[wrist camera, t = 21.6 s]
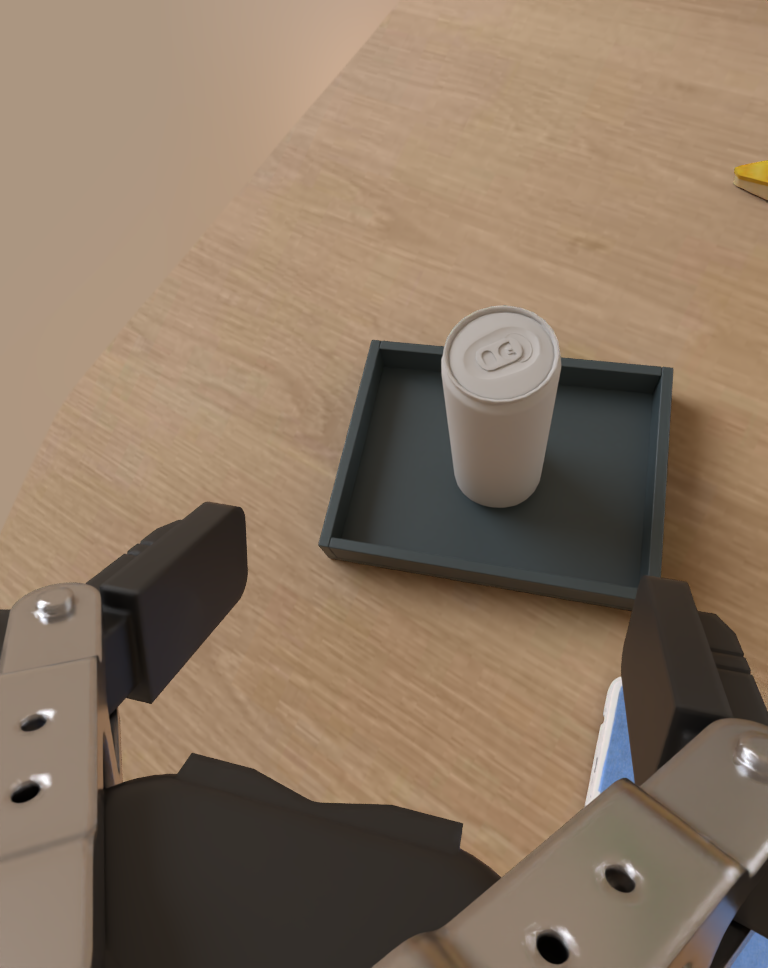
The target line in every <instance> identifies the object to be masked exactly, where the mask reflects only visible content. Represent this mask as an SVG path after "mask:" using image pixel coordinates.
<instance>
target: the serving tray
mask: <svg viewBox="0 0 768 968" xmlns="http://www.w3.org/2000/svg"><path fill="white" fill-rule="evenodd" d="M443 350H444V347H443V346H432V345H422V344H411V343H400V342H389V341H379V340H372V341H371V345H370V349H369V353H368V356H367V360H366V364H365V368H364V372H363V376H362V379H361V383H360V387H359V391H358V395H357V399H356V402H355V406H354V410H353V414H352V418H351V422H350V425H349V429H348V433H347V437H346V441H345V445H344V448H343V452H342V456H341V460H340V464H339V468H338V471H337V475H336V479H335V483H334V487H333V491H332V494H331V498H330V502H329V506H328V510H327V514H326V517H325V521H324V525H323V529H322V533H321V537H320V540H319V544H318V545H319V547H320V548H321V549H322V550H323V551H324V553H325V554H326V555H327V556H328V558H331V559H337V560H343V561H348V562H354V563H360V564H365V565H371V566H377V567H383V568H388V569H394V570H400V571H406V572H411V573H417V574H423V575H428V576H434V577H440V578H446V579H451V580H457V581H463V582H468V583H474V584H480V585H486V586H491V587H497V588H503V589H509V590H514V591H520V592H526V593H531V594H537V595H543V596H549V597H554V598H560V599H566V600H572V601H577V602H583V603H589V604H594V605H600V606H606V607H612V608H617V609H623V610H629V611H632V610H633V605H634V601H635V597H636V593H637V589H638V585H639V582H640V580H641V578H642V576H643V575H648V576H654V577H660V578H661V565H662V549H663V532H664V516H665V499H666V483H667V466H668V450H669V433H670V417H671V400H672V384H673V368H668V367H658V366H647V365H636V364H626V363H615V362H604V361H593V360H583V359H572V358H561V371H560V377H559V382H558V387H557V393H556V398H555V403H554V409H553V414H552V420H551V425H550V430H549V436H548V441H547V446H546V452H545V457H544V462H543V468H542V473H541V477H540V482H539V484H538V486H537V488H536V489H535V491H534V492H533V493H532V494H531V495H530V496H529V497H528V498H527V499H526V500H525V501H523V502H521V503H519V504H518V505H515V506H511V507H506V508H493V507H488V506H483V505H480V504H478V503H476V502H474V501H472V500H470V499H469V498H468V497H467V496H466V495H464V494H463V492H462V491H461V489H460V488H459V486H458V485H457V481H456V478H455V474H454V467H453V459H452V451H451V444H450V436H449V428H448V420H447V413H446V405H445V397H444V389H443V382H442V369H441V359H442V356H443Z"/></svg>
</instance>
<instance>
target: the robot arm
mask: <svg viewBox="0 0 768 968" xmlns="http://www.w3.org/2000/svg"><path fill="white" fill-rule="evenodd" d="M247 575H248V567H247V545H246V523H245V514H244V511H243V510H242V508H240V507H237V506H231V505H225V504H219V503H213V502H205V503H203V504H202V505H200V506H199V507H198V508H197V509H195V510H194V511H193V512H192V513H190V514H189V515H188V516H187V517H185V518H184V519H183V520H177V521H175V522H172V523H170V524H168V525H165V526H163V527H160V528H158V529H156V530H155V531H153V532H152V533H151V534H149V535H148V536H147V537H145V538H144V539H143V540H142V541H141V543H140V544H136V545H135V546H134V547H132V548H131V549H130V550H129V551H128V553H127V554H123V555H122V556H121V557H119V558H118V559H117V560H116V561H114V562H113V563H112V564H110V565H109V566H108V567H106V568H105V569H104V570H102V571H101V572H100V573H99V574H97V575H96V576H95V577H93V578H92V579H91V580H89V581H88V582H87V583H86V584H83V583H59V584H54V585H49V586H46V587H42V588H40V589H37V590H34V591H32V592H30V593H28V594H27V595H25V596H23V597H22V598H21V599H19V600H18V601H17V602H16V603H15V604H14V605H13V607H12V608H11V610H0V968H730V967H731V966H732V964H733V963H734V961H735V960H736V959H737V957H738V956H739V954H740V953H741V952H742V950H743V949H744V947H745V946H746V945H747V943H748V942H749V940H750V939H751V938H752V936H753V935H754V933H755V932H756V933H758V934H760V935H761V936H763V937H765V938H767V939H768V711H767V709H766V707H765V704H764V702H763V699H762V697H761V694H760V692H759V690H758V687H757V685H756V682H755V680H754V677H753V675H750V671H751V670H750V668H749V665H748V663H747V661H746V658H744V657H743V655H744V653H743V651H742V648H741V646H740V644H739V641H738V639H737V636H736V634H735V633H734V632H733V631H732V630H731V629H730V628H729V627H728V626H727V625H726V624H725V623H724V622H723V621H722V620H721V619H720V618H719V617H718V616H717V615H716V614H712V613H706V612H701V611H697V609H696V606H695V603H694V600H693V597H692V594H691V591H690V588H689V585H688V583H687V582H684V581H678V580H672V579H666V578H660V577H654V576H648V575H643V576H642V578H641V580H640V582H639V585H638V589H637V593H636V597H635V601H634V605H633V610H632V614H631V618H630V622H629V626H628V630H627V634H626V638H625V642H624V647H623V653H622V663H621V678H622V686H623V694H624V702H625V710H626V718H627V726H628V734H629V742H630V750H631V758H632V766H633V774H634V782H635V783H633V782H632V781H631V780H629V779H628V778H621V779H619V780H617V781H615V782H614V783H613V784H611V785H610V786H609V787H608V788H607V789H606V790H604V791H603V792H602V793H601V794H600V795H598V796H597V797H596V798H595V799H594V800H593V801H591V802H590V803H589V804H588V805H587V806H585V807H584V808H583V809H582V810H581V811H580V812H578V813H577V814H576V815H575V816H574V817H572V818H571V819H570V820H569V821H568V822H567V823H565V824H564V825H563V826H562V827H561V828H560V829H558V830H557V831H556V832H555V833H554V834H552V835H551V836H550V837H549V838H548V839H547V840H545V841H544V842H543V843H542V844H541V845H539V846H538V847H537V848H536V849H535V850H534V851H532V852H531V853H530V854H529V855H528V856H526V857H525V858H524V859H523V860H522V861H521V862H519V863H518V864H517V865H516V866H515V867H513V868H512V869H511V870H510V871H509V872H508V873H506V874H505V875H504V876H503V877H502V878H501V877H500V876H499V875H498V874H497V873H496V872H494V871H493V870H492V869H491V868H490V867H489V866H487V865H486V864H484V863H483V862H482V861H480V860H479V859H477V858H476V857H474V856H473V855H471V854H469V853H468V852H466V851H464V850H462V849H460V842H461V834H462V827H463V823H459V822H455V821H451V820H448V819H444V818H440V817H436V816H432V815H428V814H425V813H421V812H417V811H413V810H409V809H405V808H402V807H398V806H394V805H379V804H345V803H319V802H314V801H311V800H309V799H307V798H305V797H303V796H301V795H300V794H298V793H296V792H294V791H292V790H291V789H289V788H287V787H285V786H283V785H282V784H280V783H278V782H276V781H274V780H273V779H271V778H269V777H267V776H266V775H264V774H262V773H260V772H258V771H257V770H255V769H252V768H248V767H244V766H241V765H237V764H233V763H229V762H225V761H221V760H218V759H214V758H210V757H206V756H202V755H198V754H194V753H192V754H191V755H190V756H189V758H188V759H187V761H186V762H185V764H184V765H183V767H182V768H181V769H180V771H179V772H178V774H163V775H153V776H147V777H142V778H137V779H133V780H130V781H126V782H123V773H122V751H121V730H120V716H119V710H118V706H119V705H120V704H121V703H122V702H123V700H124V699H125V698H129V699H133V700H137V701H141V702H145V703H149V704H152V702H153V701H154V700H155V699H156V698H157V697H158V695H159V694H160V693H161V692H162V691H163V689H164V688H165V687H166V686H167V685H168V684H169V682H170V681H171V680H172V679H173V678H174V676H175V675H176V674H177V673H178V672H179V671H180V669H181V668H182V667H183V666H184V665H185V663H186V662H187V661H188V660H189V659H190V658H191V656H192V655H193V654H194V653H195V652H196V650H197V649H198V648H199V647H200V646H201V645H202V643H203V642H204V641H205V640H206V639H207V637H208V636H209V635H210V634H211V633H212V632H213V630H214V629H215V628H216V627H217V626H218V624H219V623H220V622H221V621H222V620H223V619H224V617H225V616H226V615H227V614H228V613H229V611H230V610H231V609H232V608H233V607H234V606H235V604H236V603H237V602H238V601H239V599H240V598H241V596H242V594H243V592H244V589H245V586H246V582H247Z"/></svg>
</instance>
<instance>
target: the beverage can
mask: <svg viewBox="0 0 768 968" xmlns="http://www.w3.org/2000/svg"><path fill="white" fill-rule="evenodd" d="M441 369H442V382H443V389H444V397H445V405H446V413H447V420H448V428H449V436H450V444H451V451H452V459H453V467H454V474H455V478H456V481H457V485H458V486H459V488H460V489H461V491H462V492H463V494H464V495H466V496H467V497H468V498H469V499H470V500H472V501H474V502H476V503H478V504H480V505H483V506H488V507H493V508H506V507H511V506H515V505H518V504H519V503H521V502H523V501H525V500H526V499H527V498H528V497H529V496H530V495H531V494H532V493H533V492H534V491H535V489H536V488H537V486H538V484H539V482H540V477H541V473H542V468H543V462H544V457H545V452H546V446H547V441H548V436H549V430H550V425H551V420H552V414H553V409H554V403H555V398H556V393H557V387H558V382H559V377H560V371H561V356H560V350H559V342H558V340H557V338H556V335H555V333H554V331H553V329H552V328H551V327H550V326H549V325H548V324H547V322H546V321H545V320H544V319H542V318H541V317H539V316H538V315H536V314H535V313H533V312H531V311H528V310H526V309H523V308H520V307H513V306H506V305H504V306H491V307H487V308H484V309H481V310H477V311H475V312H473V313H472V314H470V315H468V316H466V317H464V318H463V319H462V320H461V321H460V322H459V323H458V324H457V325H456V326H455V327H454V328H453V329H452V331H451V333H450V334H449V336H448V337H447V340H446V343H445V346H444V350H443V356H442V359H441Z"/></svg>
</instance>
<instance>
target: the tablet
mask: <svg viewBox="0 0 768 968" xmlns="http://www.w3.org/2000/svg"><path fill="white" fill-rule="evenodd" d="M603 716H604V718H605V719H604V723H603V724H601V727H600V731H599V736H598V741H597V746H596V751H595V756H594V761H593V766H592V772H591V777H590V782H589V787H588V792H587V797H586V802H585V806H587V805H588V804H589V803H590V802H591V801H593V800H594V799H595V798H596V797H597V796H598V795H600V794H601V793H602V792H603V791H604V790H606V789H607V788H608V787H609V786H610V785H611V784H613V783H614V782H615V781H617V780H619V779H621V778H628V779H629V780H631V781H632V782H633V783H635V782H634V774H633V766H632V758H631V750H630V742H629V734H628V726H627V718H626V710H625V702H624V694H623V686H622V678H621V677H618V678H616V679H615V680H614V681H613V682H612V683H611V685H610V687H609V689H608V692H607V697H606V702H605V707H604V712H603ZM730 968H768V939H767V938H765V937H763V936H761V935H760V934H758V933H756V932H755V933H754V935H753V936H752V938H751V939H750V940H749V942H748V943H747V945H746V946H745V947H744V949H743V950H742V952H741V953H740V954H739V956H738V957H737V959H736V960H735V961H734V963H733V964H732V966H731V967H730Z"/></svg>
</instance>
